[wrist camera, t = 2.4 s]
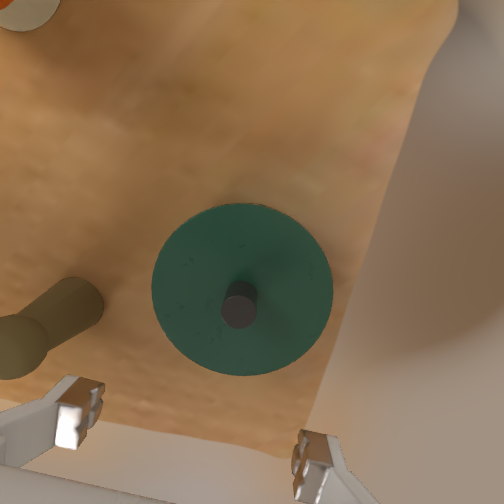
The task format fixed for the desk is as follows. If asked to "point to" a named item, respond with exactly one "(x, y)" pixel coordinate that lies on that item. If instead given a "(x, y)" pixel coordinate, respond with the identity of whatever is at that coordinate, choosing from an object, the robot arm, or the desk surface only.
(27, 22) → the reusable coffee cup
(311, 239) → the lid
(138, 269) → the desk surface
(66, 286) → the cork
